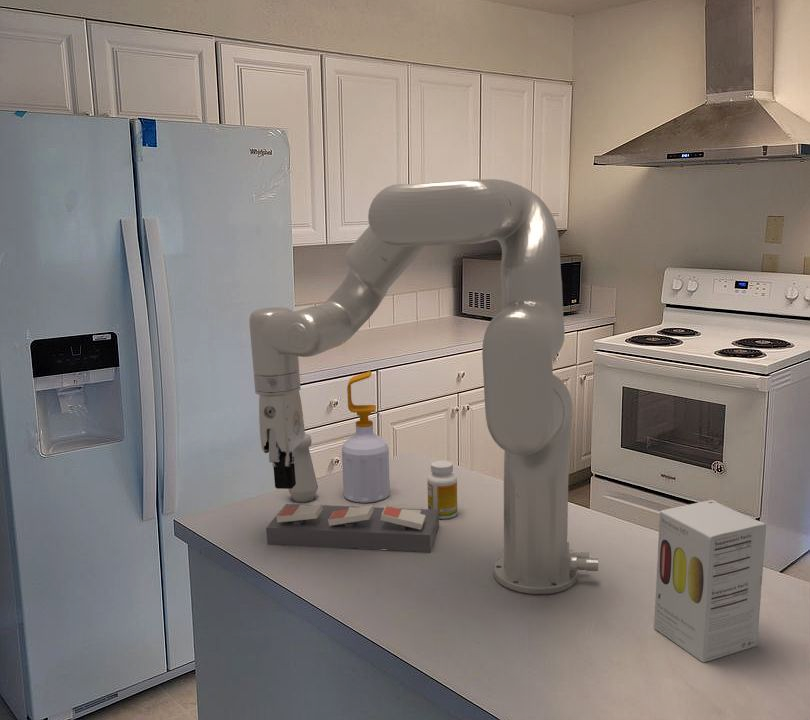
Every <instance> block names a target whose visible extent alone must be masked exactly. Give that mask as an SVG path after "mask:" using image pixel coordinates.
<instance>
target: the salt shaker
mask: <svg viewBox="0 0 810 720" xmlns="http://www.w3.org/2000/svg"><path fill="white" fill-rule="evenodd" d="M311 445H312V437H311V435H310V434H309V433H306V432H305V438H304V439H303V441H302V442H301V443H300V444H299V445H298V446H297V447H296V448H295V449H294V466H295V479H296V485H295V486H294V487H293V488H292V489H287V490H288V492H289V494H290V496H291V498H292V499H293V501H294V502H295V503H307V502H306V501H308V502H311V501H313V500H314V497H315V495H316V493H317V491H318V488H319V485H318V481H317V477H316V473H315V469H314V465H313V464H314V463H313V459H312V456H311V452H310V447H311Z"/></svg>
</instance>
